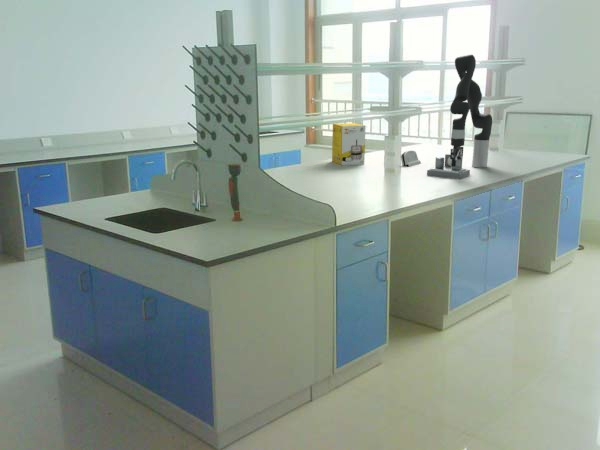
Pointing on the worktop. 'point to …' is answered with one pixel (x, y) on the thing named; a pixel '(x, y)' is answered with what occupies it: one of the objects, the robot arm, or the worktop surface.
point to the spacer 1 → (439, 163)
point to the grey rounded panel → (409, 158)
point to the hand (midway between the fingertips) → (455, 165)
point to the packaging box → (348, 144)
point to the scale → (449, 170)
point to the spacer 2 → (457, 165)
